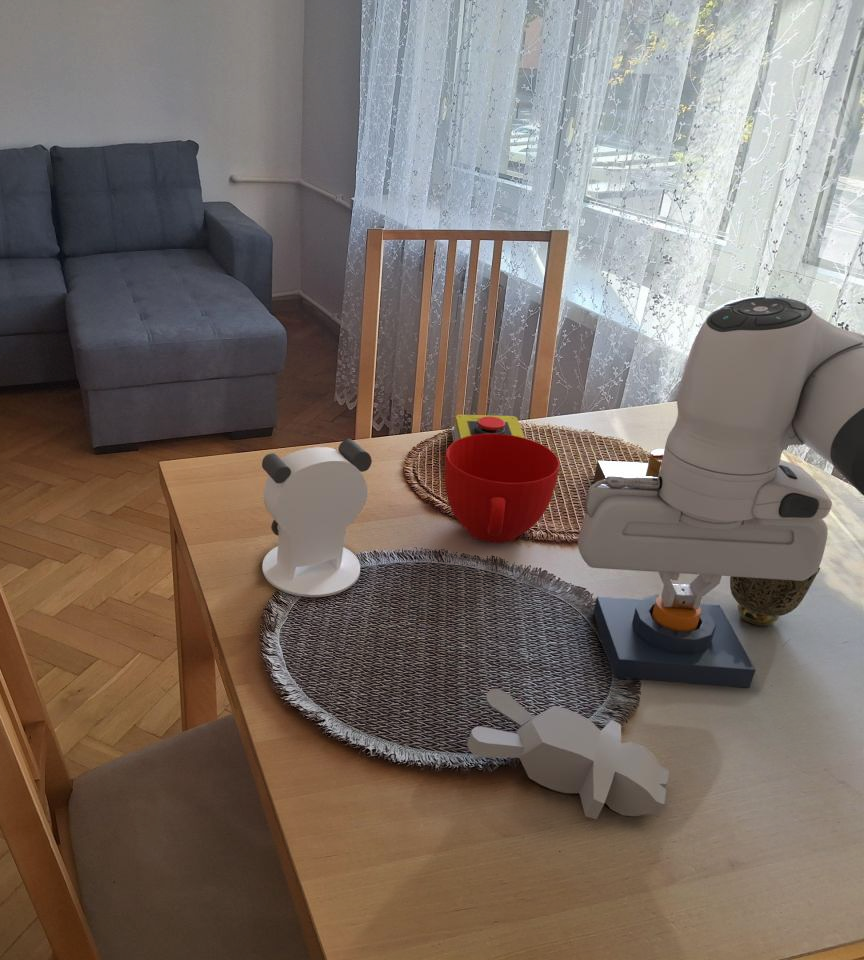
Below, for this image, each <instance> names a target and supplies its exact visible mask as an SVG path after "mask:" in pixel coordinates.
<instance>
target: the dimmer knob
mask: <svg viewBox="0 0 864 960" xmlns="http://www.w3.org/2000/svg"><path fill="white" fill-rule="evenodd" d="M664 450H665V448H657V449H654V450H652V451H651V453H650V455H649V459H648V462H647V463H648V467H647V471H646V475H645V477H658V474H659V470H660V466H661V462H662V458H663V454H664Z"/></svg>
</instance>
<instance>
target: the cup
mask: <svg viewBox="0 0 864 960" xmlns="http://www.w3.org/2000/svg"><path fill="white" fill-rule="evenodd" d="M820 570H821V567H820V566H819V568H818V570H817V572H816V573H815V574H813V575H812V576H810V577H809V578H807V579H806V580H803V581H797V580H782V579H766V578H750V577H733V576H729V588H730V593H731V595H732V597H733V599H734V600H735V602H736V603H737V611H738V614H739V616H740V617H741V619H743V620H744V621H746V622H747V623H749V624H753V625H755V626H759V627H760V626H761V627H768V626H771V625H773V624H774V623H776V622H777V621H778V620H779V618H780V617H781V616H784V615H788V614H789V613H792V612H793V611H794V610H796V609H797V607H798V606H800V604H801V603H802V601H803V600H804V598H805V597H806V595H807V593H808V592H809V590H810V588H811V586H812V584H813V583H814V581H815V579H816V577H817V575H818V574H819V573H820Z"/></svg>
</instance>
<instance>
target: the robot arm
mask: <svg viewBox="0 0 864 960" xmlns="http://www.w3.org/2000/svg"><path fill="white" fill-rule="evenodd" d="M676 406H677V417H676V419H675V420H676V421H675V423H674V425H673V427H672V428H671V430H670V432H669V433H668V435H667V438H666V441H665V446H664V449H665V450H664V454H663V458H662V462H661V466H660V470H659V474H658V477H642V476H641V477H623V476H620V475H612V476H607V478H606V479H604V480H600V481H598V482H596V483H595V482H594V483H592V484H591V485H590V486H589V488H588V489H587V492H586V496H585V501H584V510H585V515H584V516H583V520H582V522H581V525H580V528H579V532H578V537H577V548H578V552H579V554H580V557H581V558H582V560H583V561H584V562H585V563H586V565H587V566H588V567H589V568H592V569H593V568H594V569H605V570H619V571H620V570H623V571H639V572H654V573H658V575H659V577H660V580H661V582H662V583H663V587H662V592H661V595H662V602H663V604H664V606H665V607H671V608H687V609H698V608H699V605H700V604H701V602H702V598H703V597H705V596H706V595H707V594H708V593H710V592H711V591H712V590H713V589H715V588H716V587H717V586H719V584H720V582H721V580H722V577H730V576H733V577H750V578H766V579H782V580H797V581H803V580H806V579H807V578H809V577H810V576H812V575H813V574H815V573H816V572H817V570H818V568H819V567H820V566H821V564H822V560H823V558H824V553H825V550H826V545H827V541H828V533H829V532H828V526H827V524H826V522H825V520H824V519H825V518H826V517H827V516H828V515H829V513H830V512H831V509H832V507H833V502H832V500H831V498H830V497H829V495H828V493H827V492H826V491H825V489H824V488H823V486H822V485H821V484H820V483H819V482H818V481H817V480H816V479H815V478H814V477H813V476H812V475H811V474H810V473H809V472H808V471H806V470H805V469H804V468H803V467H801V466H800V465H798V464H795V463H792V462H789V461H786V460H783V459H781V458H782V454H783V452H784V450H785V449H786V448H788V447H789V446H799V445H800V446H803V445H805V446H806V447H807V448H809V449H810V450H811V451H812V452H814V453H815V454H816V455H818V456H819V457H821V458H822V459H824V460H825V462H827V463H829V464H830V465H832V466H833V468H834V469H835V470H836V471H837V472H838V473H839V474H840V475H841V476H842V477H843V478H844V479H845V480H846V481H847V482H848V483H849V484H850V485H852V486H853V487H854V488H855V489H856V490H857V491H858V492H859V493H860V494H861V495H862V496H863V497H864V334H862V333H859V332H855V331H852V330H848V329H844V328H840V327H838V326H836V325H834V324H832V323H830V322H828V321H827V320H825V319H824V318H822V317H820V316H819V315H817V314H816V313H815V312H814V310H813V309H812V307H810V306H809V305H808V304H806V303H805V302H803V301H799V300H797V299H793V298H788V297H783V296H765V295H762V296H761V295H760V296H748V297H743V298H737V299H735V300H732V301H728V302H726V303H724V304H722V305H719V306H717V307H716V308H714V309H713V310H712V311H711V312H710V313H709V314H708V315H707V317H706V318H705V319H704V321H702V324H701V325H700V327H699V329H698V331H697V332H696V334H695V337H694V339H693V342H692V344H691V347H690V350H689V352H688V356H687V358H686V362H685V365H684V368H683V371H682V376H681V380H680V383H679V387H678V390H677V395H676ZM602 484H606V485H602ZM680 574H685V575H686V574H687V575H697V576H696V577H695V578H694V579H693V580H692V581H691V582H690V583H689V584H677V583H672V581H678V579H679V576H680Z"/></svg>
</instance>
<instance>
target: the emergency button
mask: <svg viewBox="0 0 864 960" xmlns="http://www.w3.org/2000/svg"><path fill="white" fill-rule="evenodd" d="M478 434H505V435H513V436H518V437H522V438H526V437H525V434H524V431H523V429H522V426H521V424H520V421H519V418H518V417H517V416H515V415H494V414H493V415H492V414H457V415H455V420H454V425H453V426H452V427H451V436H452V440H453V442H455V441H456V440H458V439H461V438H463V437H467V436H471V435H478Z"/></svg>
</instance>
